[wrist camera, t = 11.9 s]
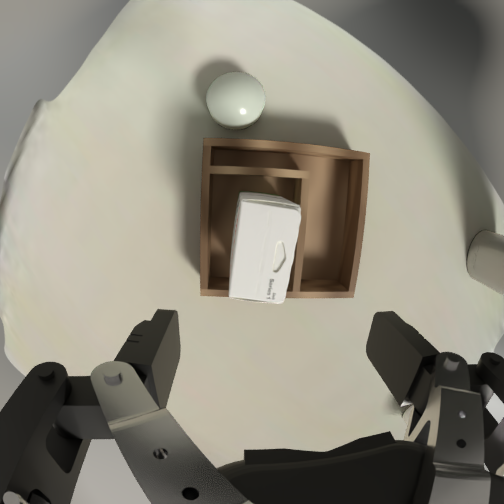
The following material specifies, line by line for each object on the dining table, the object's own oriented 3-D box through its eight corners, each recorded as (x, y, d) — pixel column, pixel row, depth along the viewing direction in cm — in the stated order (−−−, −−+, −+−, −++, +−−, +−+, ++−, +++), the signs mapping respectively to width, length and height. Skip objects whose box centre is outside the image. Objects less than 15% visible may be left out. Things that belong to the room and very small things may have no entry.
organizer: (354, 155, 32) (369, 153, 27) (341, 284, 36) (353, 297, 32) (208, 143, 31) (203, 138, 26) (204, 281, 35) (200, 295, 31)
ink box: (238, 189, 32) (239, 194, 20) (280, 195, 32) (304, 203, 21) (229, 260, 34) (225, 301, 22) (269, 265, 34) (285, 307, 23)
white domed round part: (263, 83, 29) (266, 73, 26) (261, 131, 31) (264, 125, 27) (211, 81, 29) (208, 71, 25) (207, 129, 30) (204, 123, 27)
